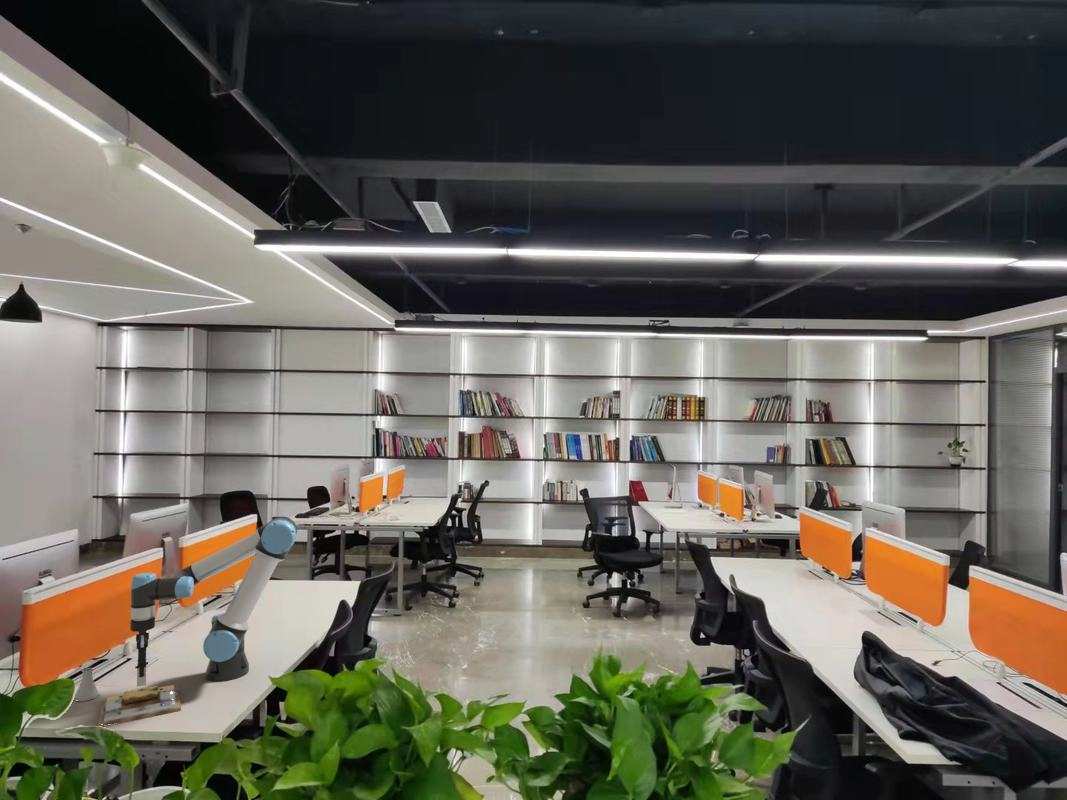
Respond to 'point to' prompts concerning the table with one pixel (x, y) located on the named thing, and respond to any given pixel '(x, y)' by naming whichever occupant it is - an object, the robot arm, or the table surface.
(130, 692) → the gold silver metal bar
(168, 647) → the table surface
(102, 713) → the board
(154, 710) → the fixed leaf
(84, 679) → the flask
